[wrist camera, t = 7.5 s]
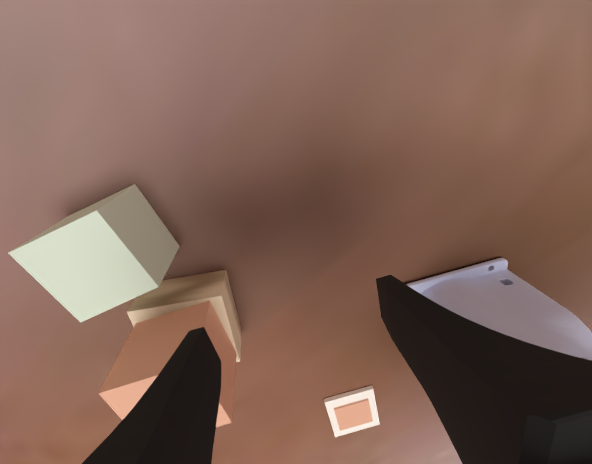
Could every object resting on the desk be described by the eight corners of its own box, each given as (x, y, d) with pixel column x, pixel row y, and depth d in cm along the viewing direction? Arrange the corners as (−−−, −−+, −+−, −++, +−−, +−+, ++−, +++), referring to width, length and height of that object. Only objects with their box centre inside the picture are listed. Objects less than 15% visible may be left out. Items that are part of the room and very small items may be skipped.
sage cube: (135, 183, 18) (96, 210, 14) (180, 245, 21) (158, 286, 16) (67, 216, 19) (8, 252, 14) (118, 274, 21) (80, 322, 16)
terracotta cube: (209, 300, 19) (195, 363, 14) (236, 353, 21) (231, 422, 16) (136, 323, 19) (98, 393, 14) (170, 373, 21) (147, 448, 16)
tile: (371, 385, 29) (373, 390, 29) (378, 420, 32) (380, 426, 31) (323, 398, 29) (325, 404, 29) (334, 433, 32) (335, 438, 31)
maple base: (226, 267, 22) (221, 295, 19) (241, 327, 25) (239, 361, 21) (145, 281, 22) (126, 312, 18) (169, 340, 24) (156, 377, 21)
